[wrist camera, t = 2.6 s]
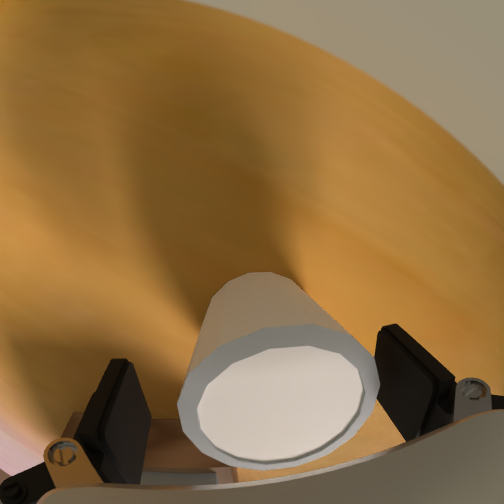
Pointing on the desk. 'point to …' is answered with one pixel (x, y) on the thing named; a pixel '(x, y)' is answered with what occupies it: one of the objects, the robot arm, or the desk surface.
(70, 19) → the desk surface
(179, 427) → the base block
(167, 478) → the top block
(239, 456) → the beige cup
